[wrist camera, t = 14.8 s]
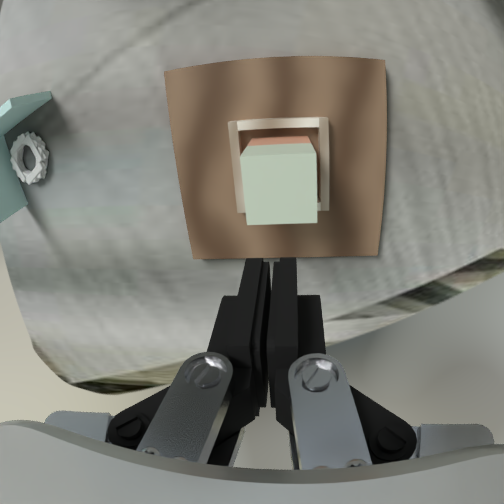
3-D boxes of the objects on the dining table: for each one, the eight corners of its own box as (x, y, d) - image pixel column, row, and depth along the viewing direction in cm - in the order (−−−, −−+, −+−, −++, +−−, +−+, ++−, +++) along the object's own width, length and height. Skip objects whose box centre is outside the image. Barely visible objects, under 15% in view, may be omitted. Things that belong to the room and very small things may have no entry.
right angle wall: (27, 204, 35) (-7, 227, 28) (1, 130, 29) (-37, 145, 23) (81, 177, 32) (43, 201, 26) (52, 90, 27) (9, 98, 20)
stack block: (307, 135, 26) (316, 153, 19) (309, 187, 28) (317, 222, 21) (252, 138, 27) (239, 156, 20) (256, 189, 29) (247, 225, 22)
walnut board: (380, 61, 23) (389, 59, 20) (374, 248, 32) (380, 261, 30) (169, 72, 25) (159, 71, 23) (196, 252, 35) (190, 265, 33)
